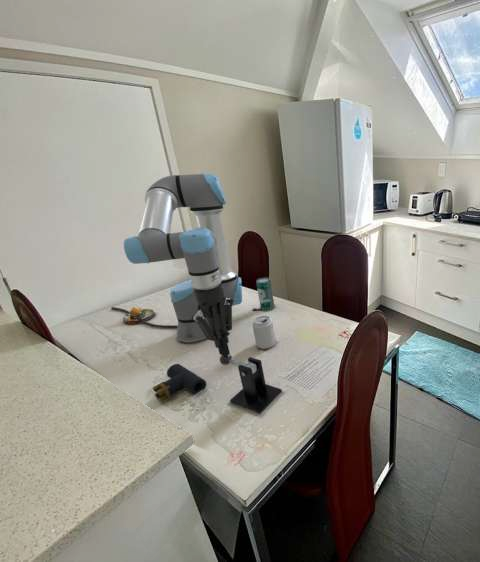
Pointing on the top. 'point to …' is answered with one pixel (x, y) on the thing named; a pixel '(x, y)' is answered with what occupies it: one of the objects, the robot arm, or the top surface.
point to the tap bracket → (254, 389)
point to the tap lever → (236, 362)
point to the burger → (138, 315)
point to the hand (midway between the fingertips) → (224, 354)
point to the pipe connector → (179, 383)
